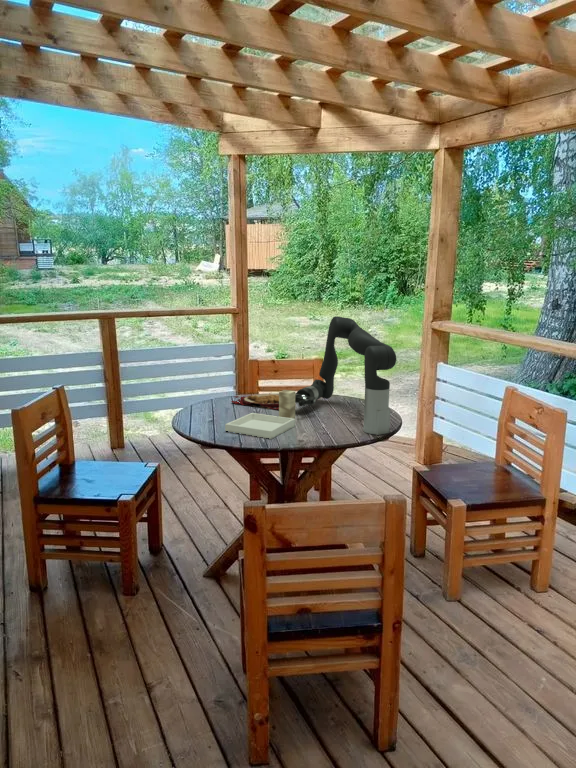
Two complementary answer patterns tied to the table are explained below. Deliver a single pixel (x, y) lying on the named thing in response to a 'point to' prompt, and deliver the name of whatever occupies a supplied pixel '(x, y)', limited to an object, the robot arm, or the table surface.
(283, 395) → the block
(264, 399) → the plate with food
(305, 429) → the table surface
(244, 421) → the tray
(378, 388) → the robot arm
